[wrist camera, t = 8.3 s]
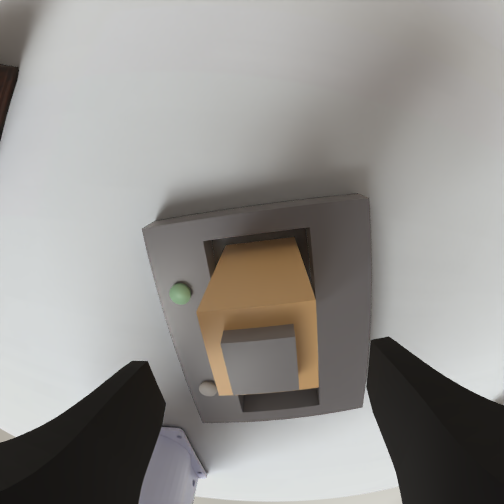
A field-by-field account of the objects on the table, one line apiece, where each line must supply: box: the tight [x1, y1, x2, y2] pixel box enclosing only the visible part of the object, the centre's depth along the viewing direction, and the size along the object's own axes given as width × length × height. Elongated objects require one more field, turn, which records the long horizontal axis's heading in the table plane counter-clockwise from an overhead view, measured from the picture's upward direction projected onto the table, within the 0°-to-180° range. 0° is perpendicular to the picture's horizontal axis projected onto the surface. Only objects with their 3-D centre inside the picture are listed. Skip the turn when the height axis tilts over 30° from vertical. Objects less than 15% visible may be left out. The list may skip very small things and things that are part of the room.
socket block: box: [142, 193, 372, 423], centre depth 18 cm, size 15×12×2 cm
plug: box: [196, 237, 319, 396], centre depth 14 cm, size 4×4×9 cm
